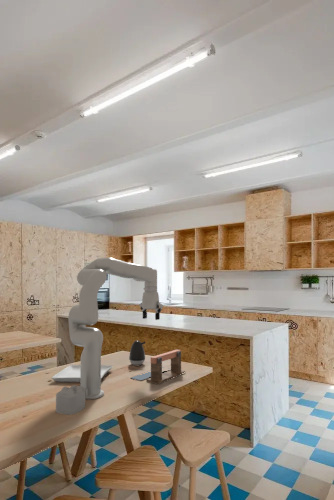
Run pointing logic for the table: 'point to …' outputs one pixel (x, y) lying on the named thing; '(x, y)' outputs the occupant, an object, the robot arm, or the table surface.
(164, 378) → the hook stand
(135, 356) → the pump dispenser
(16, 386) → the table surface
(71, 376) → the square plate
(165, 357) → the rail
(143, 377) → the mat
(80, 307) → the robot arm
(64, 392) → the lumpy-topped squat cylinder
